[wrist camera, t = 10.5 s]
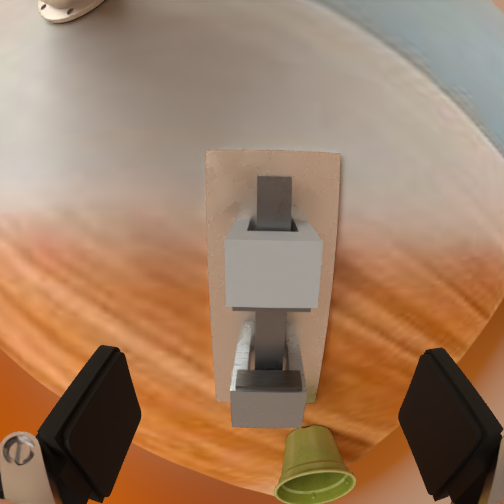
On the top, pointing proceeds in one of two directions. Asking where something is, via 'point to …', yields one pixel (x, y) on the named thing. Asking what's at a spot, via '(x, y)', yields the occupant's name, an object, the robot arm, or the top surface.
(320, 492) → the plant pot
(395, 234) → the top surface
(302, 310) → the grey block
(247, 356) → the rail
